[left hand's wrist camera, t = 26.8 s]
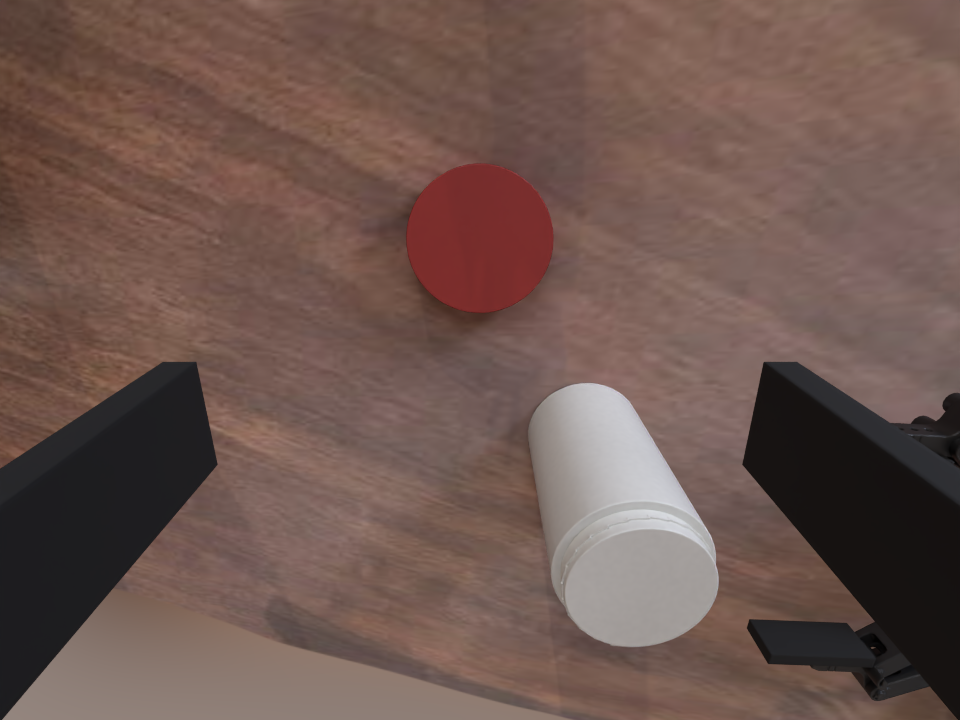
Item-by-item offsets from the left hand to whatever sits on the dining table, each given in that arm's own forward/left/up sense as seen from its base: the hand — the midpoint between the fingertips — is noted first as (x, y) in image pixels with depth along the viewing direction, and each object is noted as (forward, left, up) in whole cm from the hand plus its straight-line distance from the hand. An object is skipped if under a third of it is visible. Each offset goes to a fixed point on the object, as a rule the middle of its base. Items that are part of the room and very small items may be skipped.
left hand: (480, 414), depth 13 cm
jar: (+14, -12, -28) cm, 34 cm away
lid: (0, 0, -27) cm, 27 cm away
